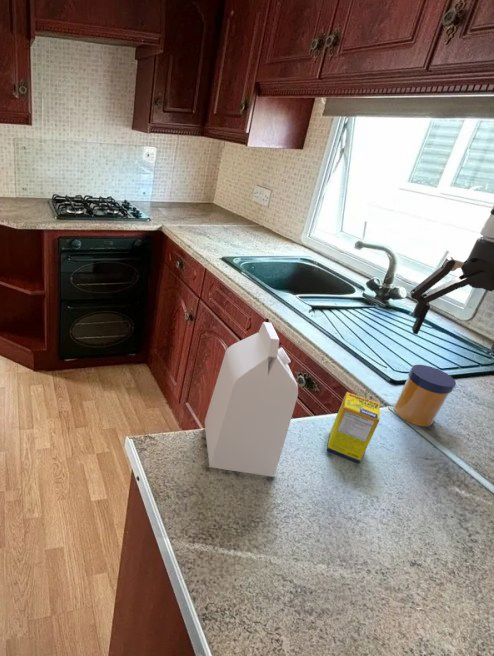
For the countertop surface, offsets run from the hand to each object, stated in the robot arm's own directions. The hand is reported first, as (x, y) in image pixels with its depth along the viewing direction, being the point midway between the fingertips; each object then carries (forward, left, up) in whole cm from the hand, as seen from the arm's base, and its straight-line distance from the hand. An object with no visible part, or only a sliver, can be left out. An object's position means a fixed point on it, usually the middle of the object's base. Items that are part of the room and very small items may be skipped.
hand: (453, 341), depth 83 cm
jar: (0, -1, -20) cm, 20 cm away
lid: (0, -1, -9) cm, 9 cm away
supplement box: (+13, +21, -20) cm, 32 cm away
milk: (+31, +34, -20) cm, 50 cm away
